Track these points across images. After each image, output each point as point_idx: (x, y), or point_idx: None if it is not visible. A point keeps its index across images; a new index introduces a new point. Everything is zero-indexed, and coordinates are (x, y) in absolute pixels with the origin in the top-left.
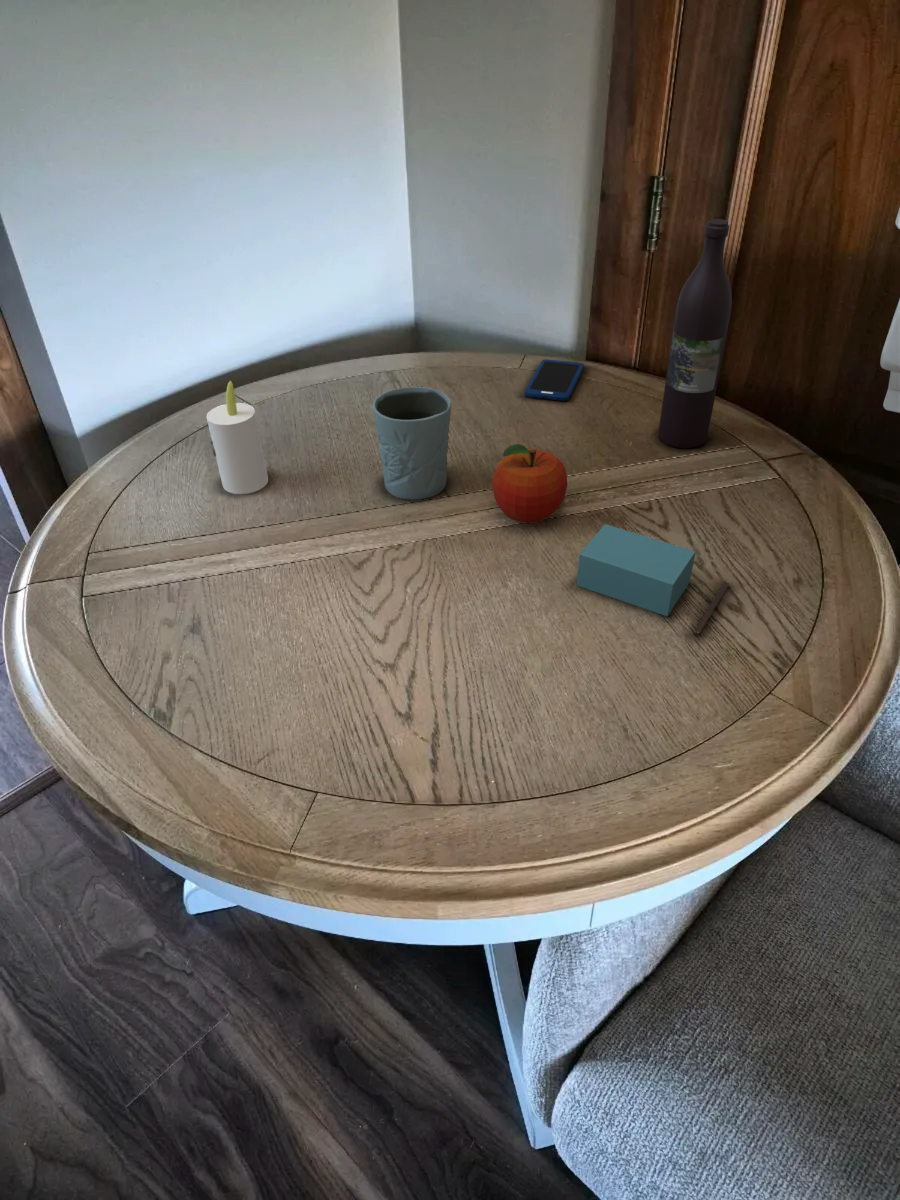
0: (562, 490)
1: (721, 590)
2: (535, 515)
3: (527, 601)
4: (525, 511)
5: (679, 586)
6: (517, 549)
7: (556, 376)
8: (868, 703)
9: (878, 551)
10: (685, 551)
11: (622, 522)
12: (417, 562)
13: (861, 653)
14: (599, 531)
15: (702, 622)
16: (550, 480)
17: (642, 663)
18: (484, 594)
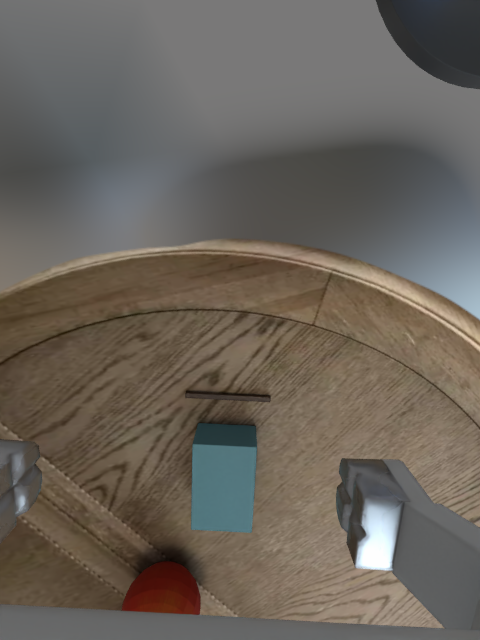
0: (159, 583)
1: (200, 396)
2: (191, 578)
3: (290, 528)
4: (197, 591)
5: (232, 435)
6: (226, 562)
7: None
8: (288, 247)
9: (46, 273)
10: (197, 452)
11: (136, 501)
12: (283, 619)
13: (222, 263)
14: (206, 529)
15: (254, 399)
16: (168, 607)
17: (323, 425)
18: (298, 560)
